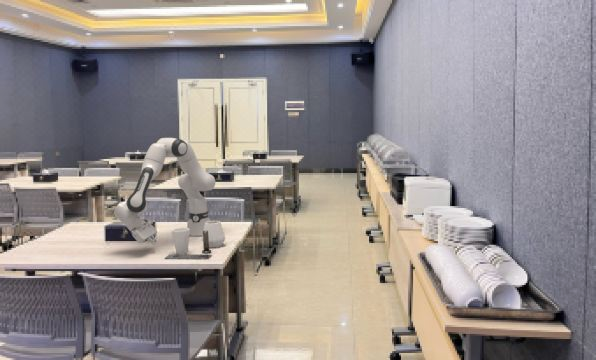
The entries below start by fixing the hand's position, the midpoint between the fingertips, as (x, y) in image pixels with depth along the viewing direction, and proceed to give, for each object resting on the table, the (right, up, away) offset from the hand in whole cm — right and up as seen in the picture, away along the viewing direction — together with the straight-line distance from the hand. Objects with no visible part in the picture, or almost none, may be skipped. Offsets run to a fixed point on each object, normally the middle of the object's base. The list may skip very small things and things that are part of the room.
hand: (155, 243), depth 292 cm
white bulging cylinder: (+31, -3, +12) cm, 33 cm away
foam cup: (+15, -5, -1) cm, 16 cm away
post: (+29, -5, -3) cm, 29 cm away
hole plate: (+21, -6, -12) cm, 25 cm away
